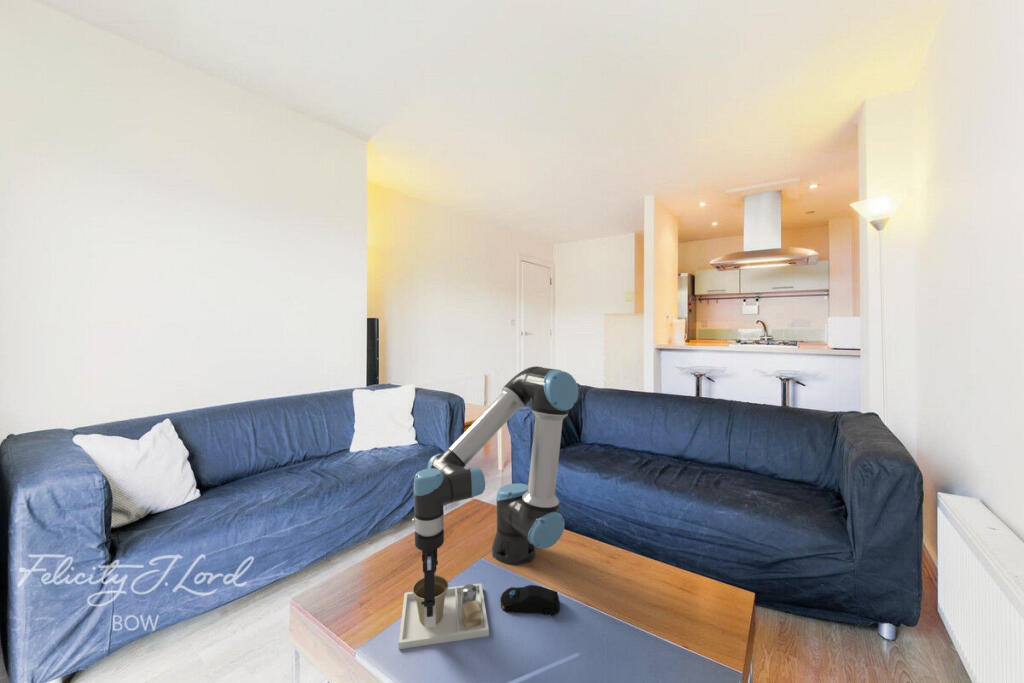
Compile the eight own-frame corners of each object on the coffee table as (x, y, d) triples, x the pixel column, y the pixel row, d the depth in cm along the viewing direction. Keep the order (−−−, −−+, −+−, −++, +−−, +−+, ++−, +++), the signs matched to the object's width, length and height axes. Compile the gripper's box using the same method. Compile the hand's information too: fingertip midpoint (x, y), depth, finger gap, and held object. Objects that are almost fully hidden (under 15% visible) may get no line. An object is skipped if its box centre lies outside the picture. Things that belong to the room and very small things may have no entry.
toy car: (502, 596, 117) (501, 579, 117) (559, 599, 115) (559, 582, 115) (498, 615, 109) (498, 597, 109) (560, 619, 108) (560, 601, 108)
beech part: (475, 614, 109) (475, 600, 108) (481, 624, 105) (480, 609, 105) (461, 619, 107) (461, 604, 107) (466, 629, 103) (466, 614, 103)
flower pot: (441, 633, 102) (440, 601, 101) (406, 628, 104) (405, 596, 103) (453, 607, 111) (453, 577, 111) (421, 602, 113) (421, 573, 112)
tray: (481, 590, 119) (481, 583, 119) (488, 638, 101) (488, 629, 101) (404, 600, 115) (404, 592, 115) (398, 651, 97) (398, 642, 97)
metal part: (472, 596, 115) (472, 582, 115) (478, 604, 112) (478, 590, 112) (459, 601, 113) (459, 587, 113) (465, 609, 110) (465, 595, 110)
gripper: (417, 508, 118) (418, 578, 119) (411, 559, 93) (413, 646, 94) (443, 506, 119) (444, 575, 120) (444, 555, 94) (445, 641, 96)
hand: (430, 606), depth 107 cm, fingers open, 13 cm apart
